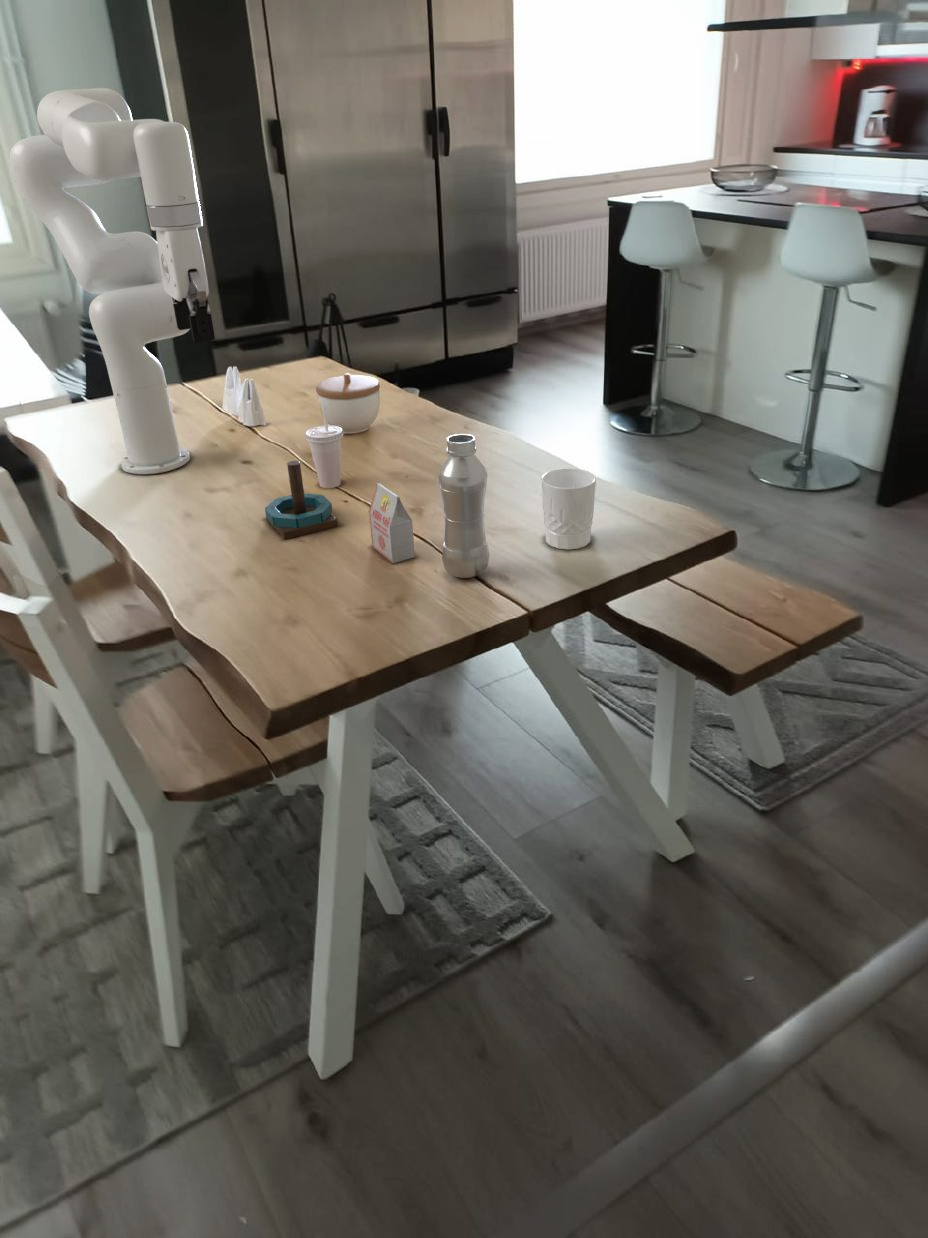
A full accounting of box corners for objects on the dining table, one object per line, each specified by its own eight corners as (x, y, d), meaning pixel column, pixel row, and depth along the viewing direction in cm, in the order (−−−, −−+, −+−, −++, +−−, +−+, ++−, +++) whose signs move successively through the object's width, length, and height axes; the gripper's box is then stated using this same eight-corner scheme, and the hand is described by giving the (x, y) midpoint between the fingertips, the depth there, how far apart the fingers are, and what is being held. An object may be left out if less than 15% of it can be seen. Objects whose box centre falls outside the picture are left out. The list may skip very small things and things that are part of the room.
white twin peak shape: (222, 416, 203) (213, 365, 197) (240, 412, 205) (231, 360, 200) (250, 429, 195) (241, 375, 189) (268, 424, 197) (259, 371, 191)
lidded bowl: (395, 423, 194) (391, 369, 189) (357, 442, 185) (351, 386, 180) (347, 414, 200) (341, 362, 195) (308, 432, 191) (301, 378, 186)
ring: (260, 511, 155) (258, 502, 154) (317, 497, 159) (316, 488, 158) (280, 532, 147) (278, 523, 146) (340, 518, 151) (338, 508, 150)
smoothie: (341, 491, 164) (332, 412, 156) (306, 490, 165) (296, 411, 158) (353, 477, 169) (344, 400, 162) (318, 476, 170) (309, 400, 163)
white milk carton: (393, 540, 145) (388, 479, 140) (414, 556, 140) (410, 494, 135) (372, 547, 144) (366, 485, 139) (392, 563, 139) (387, 500, 134)
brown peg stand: (266, 519, 155) (256, 460, 149) (318, 507, 158) (310, 448, 153) (284, 539, 148) (275, 477, 143) (338, 525, 151) (331, 465, 146)
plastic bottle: (441, 564, 138) (433, 432, 128) (487, 560, 138) (483, 428, 128) (444, 585, 132) (436, 448, 122) (492, 581, 133) (488, 445, 123)
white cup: (580, 555, 138) (581, 492, 133) (532, 545, 142) (532, 482, 137) (602, 535, 144) (605, 473, 139) (556, 525, 148) (557, 464, 143)
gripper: (136, 213, 144) (159, 327, 153) (163, 226, 131) (186, 350, 140) (185, 208, 147) (204, 320, 156) (216, 220, 134) (235, 342, 143)
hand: (196, 334), depth 148 cm, fingers open, 9 cm apart
